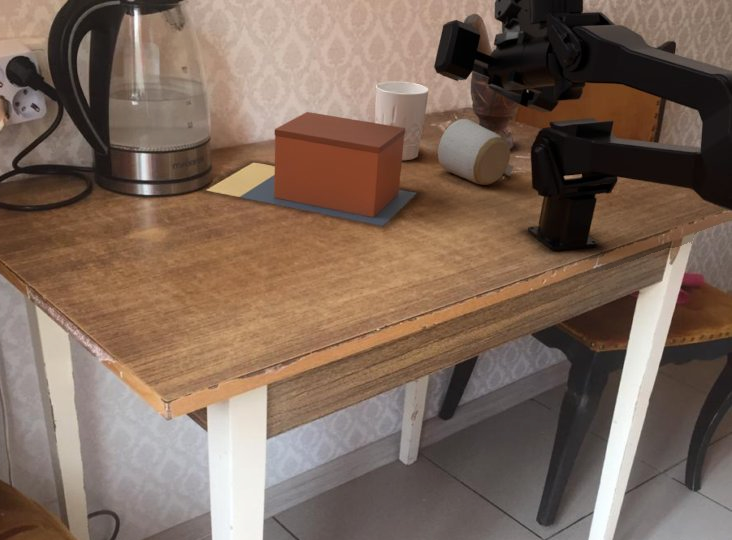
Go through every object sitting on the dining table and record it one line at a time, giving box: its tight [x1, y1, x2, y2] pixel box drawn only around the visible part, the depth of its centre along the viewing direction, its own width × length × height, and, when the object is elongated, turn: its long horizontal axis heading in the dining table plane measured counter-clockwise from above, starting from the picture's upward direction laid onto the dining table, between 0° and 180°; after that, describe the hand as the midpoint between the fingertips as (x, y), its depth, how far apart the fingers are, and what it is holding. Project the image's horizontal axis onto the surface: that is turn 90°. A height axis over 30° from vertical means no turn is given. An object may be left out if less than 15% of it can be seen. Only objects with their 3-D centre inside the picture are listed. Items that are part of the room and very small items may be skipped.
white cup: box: [374, 80, 430, 161], centre depth 131 cm, size 8×8×10 cm
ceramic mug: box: [437, 118, 514, 186], centre depth 124 cm, size 11×8×8 cm
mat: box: [205, 162, 418, 227], centre depth 117 cm, size 25×14×1 cm, turn 68°
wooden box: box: [274, 111, 405, 217], centre depth 113 cm, size 14×10×9 cm
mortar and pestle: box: [463, 13, 521, 150], centre depth 134 cm, size 12×9×20 cm
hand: (463, 74), depth 118 cm, fingers open, 9 cm apart
